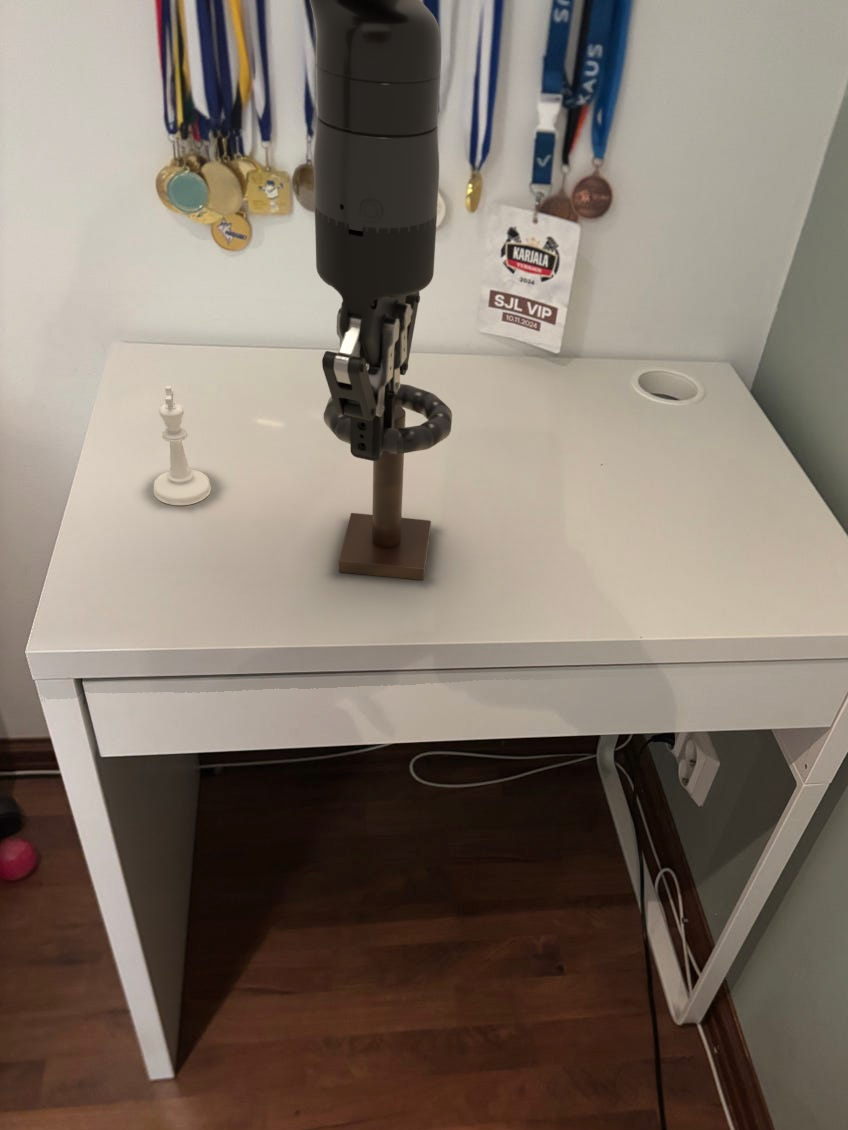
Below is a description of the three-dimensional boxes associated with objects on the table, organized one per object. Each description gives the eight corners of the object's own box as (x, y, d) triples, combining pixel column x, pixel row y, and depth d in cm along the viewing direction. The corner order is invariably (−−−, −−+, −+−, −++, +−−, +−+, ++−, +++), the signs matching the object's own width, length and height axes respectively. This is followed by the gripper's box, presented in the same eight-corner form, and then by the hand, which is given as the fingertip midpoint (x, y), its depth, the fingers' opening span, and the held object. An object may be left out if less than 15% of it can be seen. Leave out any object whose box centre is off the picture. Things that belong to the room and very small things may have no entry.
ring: (315, 450, 69) (315, 427, 68) (334, 394, 77) (334, 373, 76) (447, 463, 70) (449, 441, 68) (453, 406, 77) (455, 385, 76)
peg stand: (338, 572, 78) (336, 429, 70) (350, 523, 84) (350, 385, 75) (423, 580, 79) (432, 439, 70) (430, 531, 84) (439, 394, 75)
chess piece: (150, 505, 83) (132, 401, 76) (157, 475, 87) (141, 372, 80) (208, 505, 84) (196, 402, 77) (213, 475, 87) (201, 374, 81)
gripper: (356, 162, 64) (355, 396, 76) (273, 225, 54) (287, 485, 65) (464, 180, 63) (446, 415, 75) (400, 248, 53) (391, 508, 65)
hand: (372, 447), depth 70 cm, fingers closed on ring, 2 cm apart
